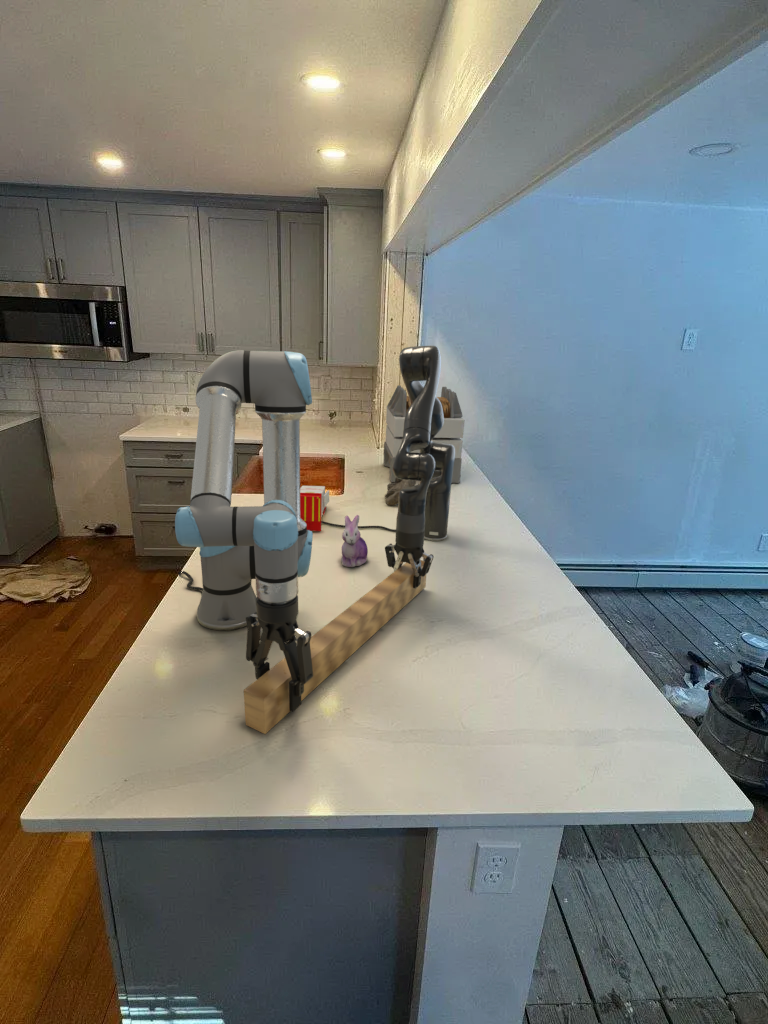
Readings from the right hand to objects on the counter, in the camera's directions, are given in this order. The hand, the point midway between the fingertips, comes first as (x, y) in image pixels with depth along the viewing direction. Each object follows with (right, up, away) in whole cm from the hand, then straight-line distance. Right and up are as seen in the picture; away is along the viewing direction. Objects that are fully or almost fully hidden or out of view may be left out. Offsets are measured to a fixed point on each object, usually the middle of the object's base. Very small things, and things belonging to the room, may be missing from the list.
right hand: (407, 584), depth 155 cm
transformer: (+11, +39, +120) cm, 127 cm away
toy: (-33, +18, +56) cm, 68 cm away
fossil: (0, +25, +82) cm, 86 cm away
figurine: (-16, +4, +22) cm, 27 cm away
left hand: (-27, -17, -44) cm, 54 cm away
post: (-13, -11, -21) cm, 27 cm away
